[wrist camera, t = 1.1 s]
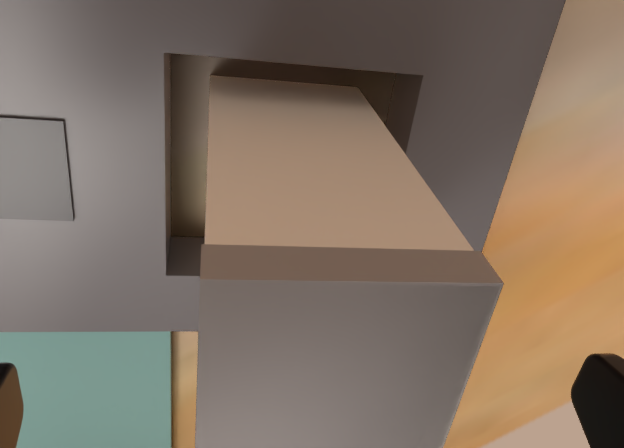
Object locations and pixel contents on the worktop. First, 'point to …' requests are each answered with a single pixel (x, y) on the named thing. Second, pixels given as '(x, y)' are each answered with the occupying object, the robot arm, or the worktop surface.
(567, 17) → the worktop surface
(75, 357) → the teal mat
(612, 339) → the worktop surface
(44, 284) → the grey panel
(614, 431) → the robot arm
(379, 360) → the beige grey rectangular block
